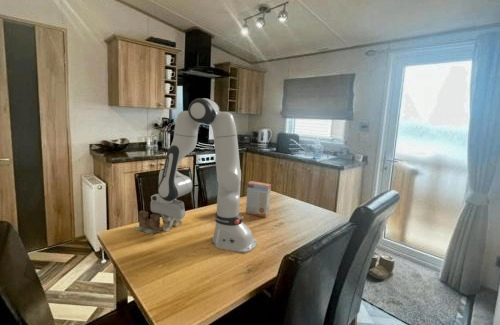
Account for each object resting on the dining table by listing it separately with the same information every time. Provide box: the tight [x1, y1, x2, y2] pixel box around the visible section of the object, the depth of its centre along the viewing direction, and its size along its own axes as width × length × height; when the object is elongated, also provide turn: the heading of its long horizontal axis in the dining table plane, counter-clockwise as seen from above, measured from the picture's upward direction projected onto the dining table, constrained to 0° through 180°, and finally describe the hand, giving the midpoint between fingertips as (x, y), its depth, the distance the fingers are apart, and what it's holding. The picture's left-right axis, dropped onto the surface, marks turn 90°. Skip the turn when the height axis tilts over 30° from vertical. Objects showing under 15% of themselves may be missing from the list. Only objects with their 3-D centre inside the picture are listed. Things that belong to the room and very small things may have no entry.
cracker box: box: [245, 180, 272, 219], centre depth 171 cm, size 14×6×21 cm, turn 64°
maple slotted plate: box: [162, 215, 182, 233], centre depth 146 cm, size 12×2×8 cm, turn 156°
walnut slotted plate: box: [134, 210, 163, 235], centre depth 142 cm, size 12×8×9 cm, turn 66°
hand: (167, 222), depth 142 cm, fingers closed on maple slotted plate, 2 cm apart
